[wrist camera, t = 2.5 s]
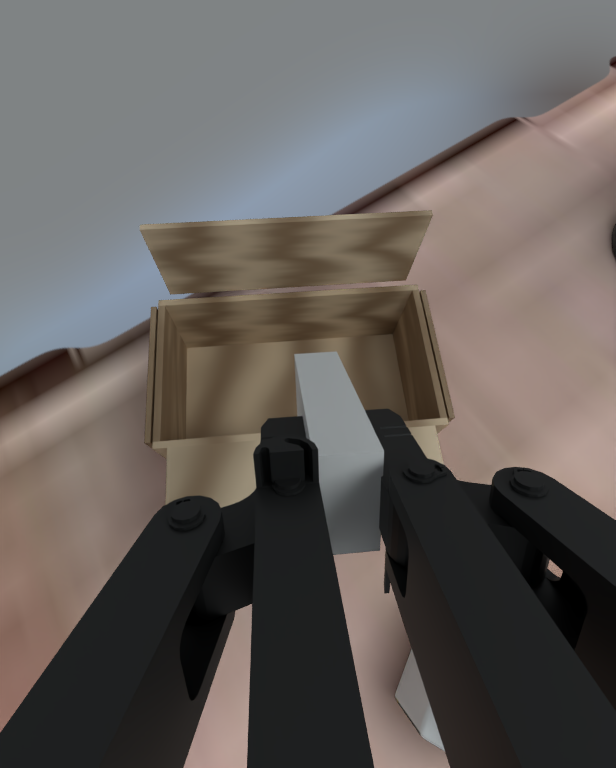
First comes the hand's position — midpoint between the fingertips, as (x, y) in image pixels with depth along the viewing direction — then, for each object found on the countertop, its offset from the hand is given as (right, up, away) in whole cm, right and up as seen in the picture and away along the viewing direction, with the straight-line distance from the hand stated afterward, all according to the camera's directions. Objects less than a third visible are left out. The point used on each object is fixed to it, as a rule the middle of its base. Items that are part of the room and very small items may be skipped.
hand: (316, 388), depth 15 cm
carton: (-1, -4, +23) cm, 23 cm away
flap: (-2, +8, +19) cm, 21 cm away
